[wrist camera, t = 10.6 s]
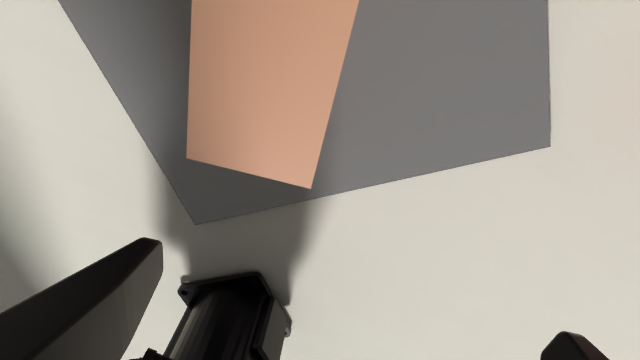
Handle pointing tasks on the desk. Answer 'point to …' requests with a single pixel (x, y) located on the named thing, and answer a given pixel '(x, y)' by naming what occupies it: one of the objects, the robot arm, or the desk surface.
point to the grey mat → (345, 94)
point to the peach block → (265, 83)
